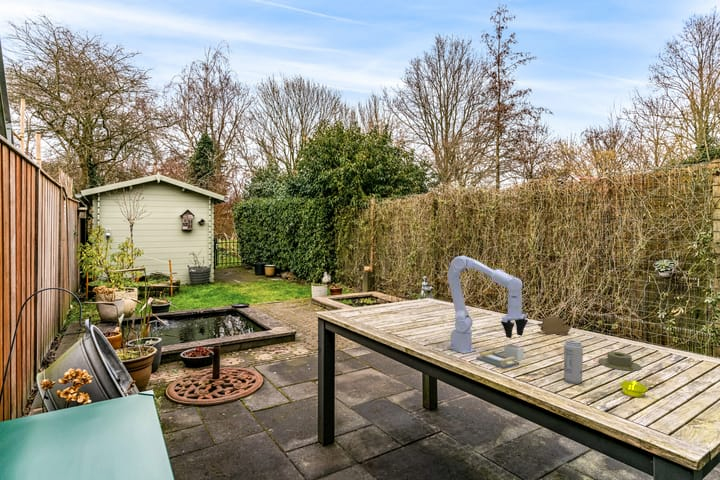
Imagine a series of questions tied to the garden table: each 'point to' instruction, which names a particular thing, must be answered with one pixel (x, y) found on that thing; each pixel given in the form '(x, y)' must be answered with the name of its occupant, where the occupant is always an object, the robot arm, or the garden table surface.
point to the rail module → (514, 351)
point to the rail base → (497, 359)
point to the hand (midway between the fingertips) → (514, 336)
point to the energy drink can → (573, 361)
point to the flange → (619, 362)
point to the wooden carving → (554, 325)
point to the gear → (633, 388)
